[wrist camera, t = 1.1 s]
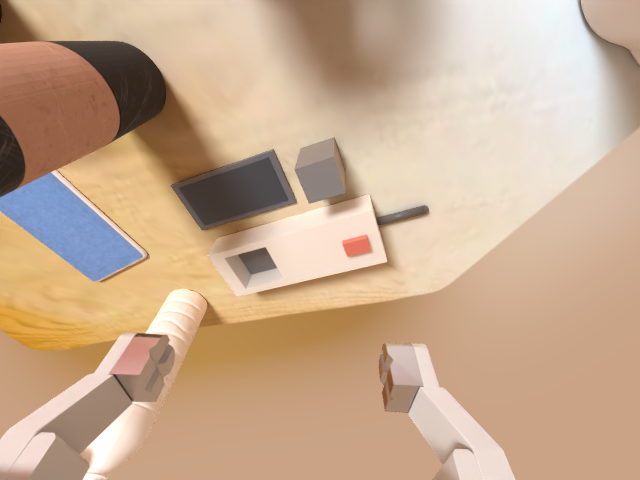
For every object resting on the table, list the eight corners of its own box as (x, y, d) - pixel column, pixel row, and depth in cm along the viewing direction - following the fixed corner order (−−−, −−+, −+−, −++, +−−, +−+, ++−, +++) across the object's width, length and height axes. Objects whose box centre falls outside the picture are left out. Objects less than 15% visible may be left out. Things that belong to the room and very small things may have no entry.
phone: (274, 147, 34) (272, 150, 33) (296, 198, 38) (295, 202, 37) (174, 182, 37) (170, 186, 36) (204, 226, 41) (201, 230, 40)
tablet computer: (-27, 183, 38) (-37, 187, 37) (27, 137, 35) (17, 140, 33) (99, 279, 48) (94, 284, 47) (152, 251, 44) (148, 257, 43)
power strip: (422, 178, 35) (433, 197, 31) (431, 231, 39) (442, 253, 35) (217, 238, 41) (204, 260, 37) (244, 277, 46) (235, 300, 42)
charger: (334, 137, 32) (333, 156, 28) (344, 170, 35) (346, 193, 30) (300, 148, 33) (294, 169, 28) (313, 180, 36) (309, 204, 31)
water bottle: (216, 306, 50) (135, 495, 30) (188, 318, 52) (96, 501, 32) (178, 273, 46) (54, 468, 26) (150, 287, 48) (15, 476, 28)
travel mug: (181, 79, 30) (-3, 142, 13) (151, 136, 33) (-23, 240, 17) (105, 16, 27) (-244, 1, 11) (81, 86, 30) (-207, 153, 14)
